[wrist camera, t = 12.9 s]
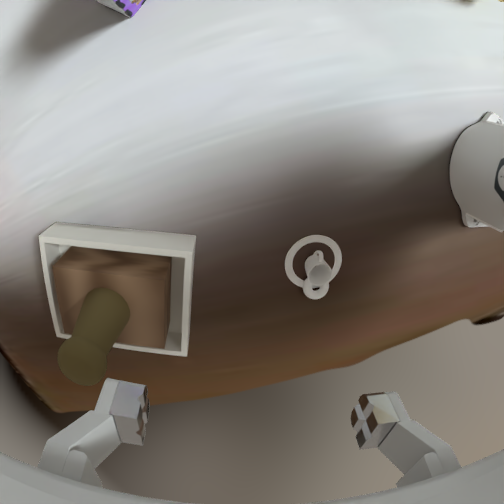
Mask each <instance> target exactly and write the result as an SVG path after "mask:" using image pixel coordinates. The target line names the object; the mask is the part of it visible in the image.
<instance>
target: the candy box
mask: <svg viewBox="0 0 504 504" xmlns="http://www.w3.org/2000/svg"><path fill="white" fill-rule="evenodd" d="M96 1H97V2H99V3H101V4H103V5H105V6H107V7H109V8H111V9H113V10H115V11H117V12H119V13H121V14H123V15H125V16H127V17H129V18H131V17H132V16H133V15H134V14H135V13H136V12H137V11H138V10H139V8H140V7H141V6H142V5H143V3H144V2H145V1H146V0H96Z"/></svg>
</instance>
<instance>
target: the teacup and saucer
mask: <svg viewBox="0 0 504 504" xmlns="http://www.w3.org/2000/svg"><path fill="white" fill-rule="evenodd" d="M312 242H321V243H324V244H326V245H328V246H329V247H330V248H331V249H332V251H333V253H334V256H335V263H334V266H333V269H332V270H331V268H330V266H329V265H328V264H327V263H326V261H325V260H324V259H323V252H322V251H320V250H317V251H315V252H314V254H313V255H311V256H309V257H308V258H307V259H306V261H305V271H306V274H307V278H306V280H305V281H304V280H302V279H300V278H298V277H297V276H296V274H295V273H294V271H293V266H292V263H293V258H294V256H295V254H296V252H297V251H298V250H299V249H300V248H301V247H303V246H304V245H306V244H308V243H312ZM317 254H319V256H318V255H317ZM341 263H342V254H341V250H340V248H339V246H338V245H337V243H336V242H335V241H334V240H332V239H331V238H329V237H327V236H323V235H311V236H307V237H304V238H302V239H300V240H299V241H297V242H296V243H295V244H294V245H293V246H292V247H291V248H290V250H289V251H288V253H287V256H286V259H285V271H286V274H287V276H288V278H289V279H290V280H291V281H292V282H293V283H294V284H295V285H297V286H299V287H302V288H303V292H304V294H305V295H306V296H307V297H308V298H310V299H320V298H322V297H323V296H325V295H326V293H327V292H328V289H329V282H330V281H331V280H332V279H333V278H334V277H335V276H336V275H337V273H338V271H339V269H340V267H341ZM315 266H316V267H315ZM317 287H320V289H318V290H317V291H314V290H313V289H312V288H317Z"/></svg>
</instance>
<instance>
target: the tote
mask: <svg viewBox="0 0 504 504" xmlns="http://www.w3.org/2000/svg"><path fill="white" fill-rule="evenodd" d="M39 244H40V252H41V259H42V266H43V273H44V279H45V285H46V290H47V296H48V301H49V306H50V310H51V315H52V319H53V324H54V328H55V332H56V336H57V337H60V338H65V339H69V338H70V337H71V336H72V335H70V334H65V333H64V329H63V324H62V319H61V315H60V310H59V305H58V299H57V294H56V288H55V282H54V275H53V268H52V266H53V265H54V264H55V263H56V262H57V261H58V260H59V259H60V258H61V257H62V256H63V254H64V253H65V252H66V251H67V250H68V249H69V248H70V247H71V246H76V247H84V248H94V249H103V250H112V251H121V252H130V253H140V254H149V255H159V256H169V257H172V267H171V301H170V324H169V329H168V334H167V339H166V344H165V349H160V348H152V347H144V346H137V345H130V344H123V343H116V342H115V344H114V345H113V347H115V348H122V349H129V350H136V351H143V352H150V353H158V354H167V355H176V356H186V357H187V353H188V344H189V336H190V318H191V300H192V284H193V270H194V257H195V244H196V235H188V234H178V233H168V232H158V231H147V230H137V229H127V228H116V227H105V226H94V225H83V224H72V223H61V222H55V223H54V224H53V225H52V226H50V227H49V228H48V229H47V230H45V231H44V232H43V233H42V234H40V235H39Z"/></svg>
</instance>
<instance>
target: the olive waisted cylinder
mask: <svg viewBox="0 0 504 504" xmlns="http://www.w3.org/2000/svg"><path fill="white" fill-rule="evenodd" d="M129 318H130V309H129V306H128V304H127V302H126V301H125V300H124V298H123V297H122V296H121V295H119V294H118V293H117V292H115V291H113V290H111V289H108V288H96V289H93V290H91V291H90V292H88V294H87V295H86V297H85V299H84V302H83V304H82V307H81V310H80V313H79V315H78V318H77V321H76V324H75V327H74V330H73V333H72V336H71V337H70V338H69V339H67V340H65V341H64V342H63V344H62V345H61V347H60V348H59V350H58V357H57V361H58V365H59V368H60V370H61V371H62V373H63V374H64V375H65V376H66V377H67V378H68V379H70V380H71V381H73V382H75V383H77V384H79V385H84V386H91V385H94V384H96V383H98V382H99V381H100V380H101V379H102V378H103V377H104V375H105V372H106V369H107V359H106V356H107V355H108V353H109V352H110V350H111V348H112V347H113V345H114V344H115V342H116V340H117V339H118V337H119V336H120V334H121V332H122V331H123V329H124V328H125V326H126V324H127V323H128V321H129Z"/></svg>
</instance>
